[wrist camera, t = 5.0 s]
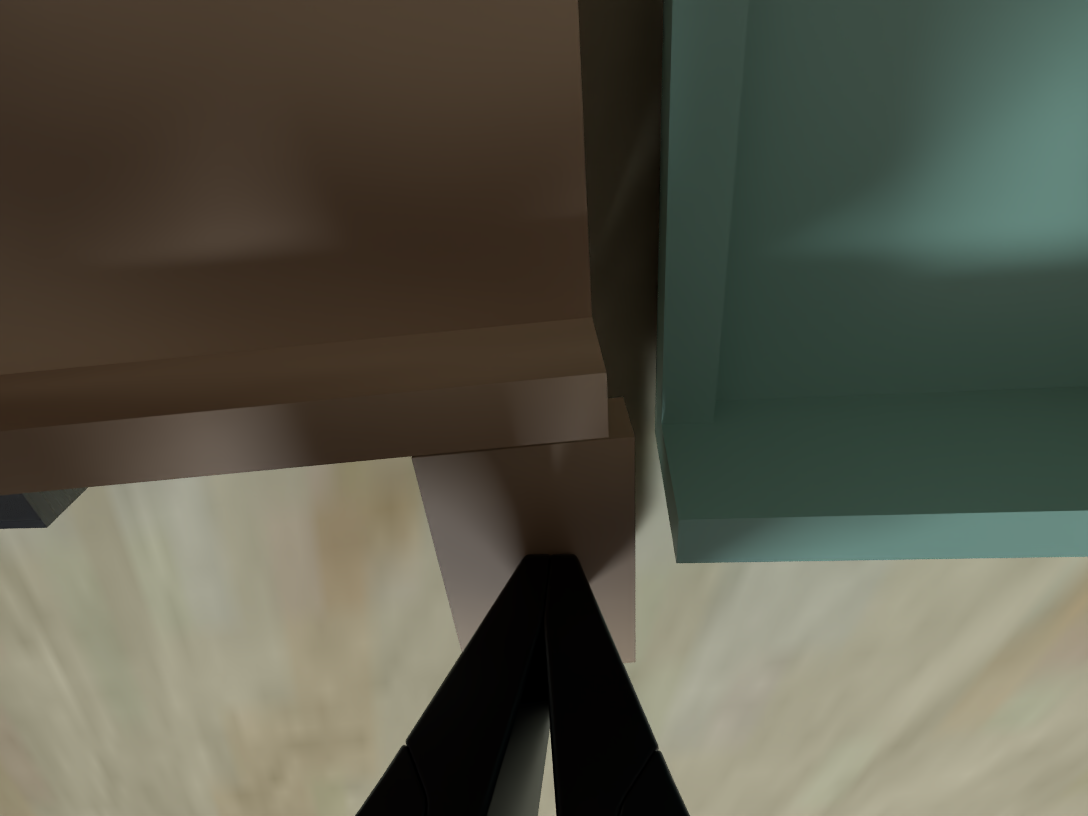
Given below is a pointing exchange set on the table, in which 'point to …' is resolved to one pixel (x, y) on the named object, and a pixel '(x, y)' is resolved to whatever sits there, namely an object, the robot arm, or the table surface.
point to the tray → (873, 279)
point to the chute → (315, 265)
